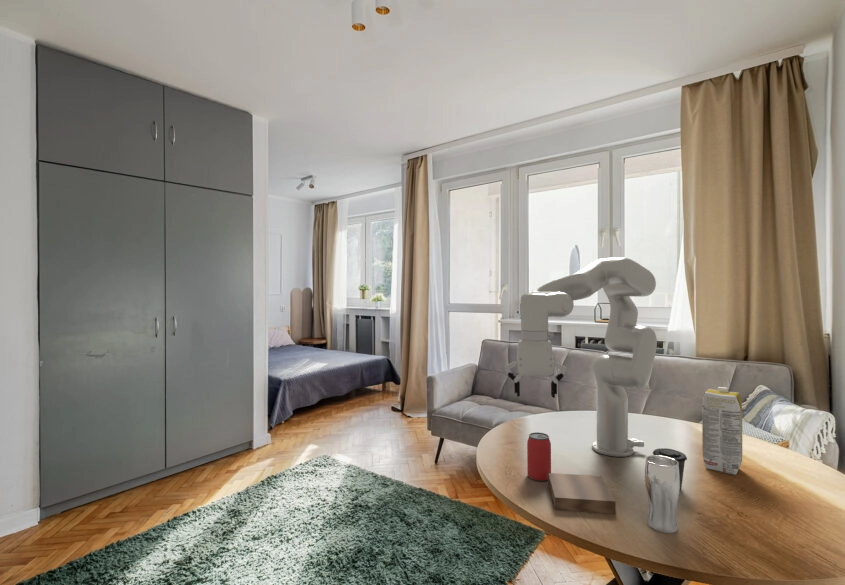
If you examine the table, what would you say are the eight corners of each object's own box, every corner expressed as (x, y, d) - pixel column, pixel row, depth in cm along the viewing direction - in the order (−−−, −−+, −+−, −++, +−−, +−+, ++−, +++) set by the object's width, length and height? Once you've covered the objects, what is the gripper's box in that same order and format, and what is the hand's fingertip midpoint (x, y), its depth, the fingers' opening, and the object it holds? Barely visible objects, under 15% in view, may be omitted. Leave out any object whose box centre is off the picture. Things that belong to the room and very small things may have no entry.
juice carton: (743, 468, 127) (743, 388, 127) (739, 477, 122) (739, 393, 121) (706, 460, 134) (705, 383, 133) (700, 468, 128) (700, 388, 128)
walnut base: (601, 486, 117) (601, 475, 117) (615, 513, 103) (615, 501, 103) (548, 483, 119) (548, 472, 119) (555, 509, 106) (555, 497, 106)
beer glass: (638, 518, 101) (638, 455, 101) (666, 516, 102) (666, 453, 101) (657, 535, 94) (657, 467, 94) (687, 533, 95) (687, 466, 95)
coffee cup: (675, 497, 111) (675, 459, 111) (646, 485, 118) (645, 448, 118) (694, 490, 114) (693, 453, 114) (664, 478, 122) (664, 443, 121)
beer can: (552, 483, 120) (551, 440, 120) (527, 481, 121) (527, 438, 121) (550, 472, 126) (549, 432, 126) (527, 471, 128) (526, 431, 127)
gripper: (564, 334, 125) (565, 393, 125) (503, 334, 128) (504, 391, 128) (568, 338, 117) (569, 400, 118) (503, 337, 121) (504, 398, 121)
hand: (535, 396), depth 123 cm, fingers open, 9 cm apart
